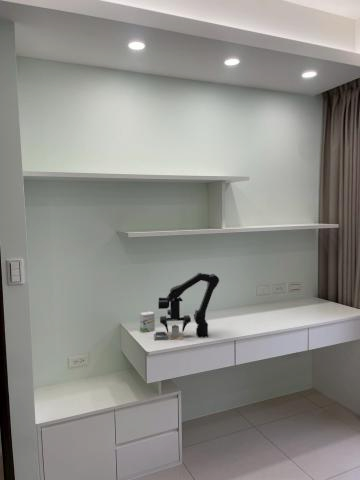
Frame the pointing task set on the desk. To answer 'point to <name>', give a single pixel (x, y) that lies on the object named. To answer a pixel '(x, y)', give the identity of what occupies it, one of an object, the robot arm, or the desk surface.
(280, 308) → the desk surface
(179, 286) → the robot arm
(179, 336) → the cork pad
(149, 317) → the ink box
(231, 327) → the desk surface
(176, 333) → the cable plug
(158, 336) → the grey square frame
